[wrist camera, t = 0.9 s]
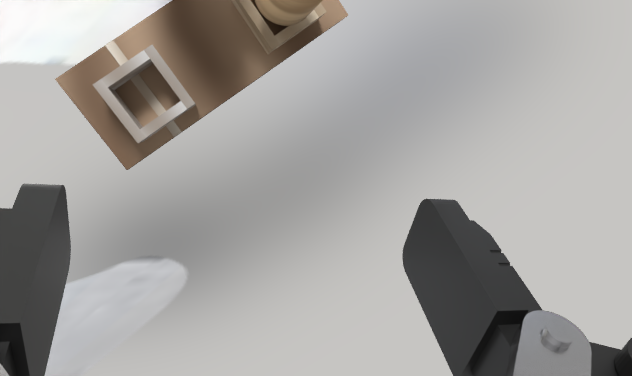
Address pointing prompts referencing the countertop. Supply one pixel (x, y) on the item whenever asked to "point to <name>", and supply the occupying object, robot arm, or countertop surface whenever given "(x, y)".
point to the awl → (286, 10)
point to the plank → (182, 68)
